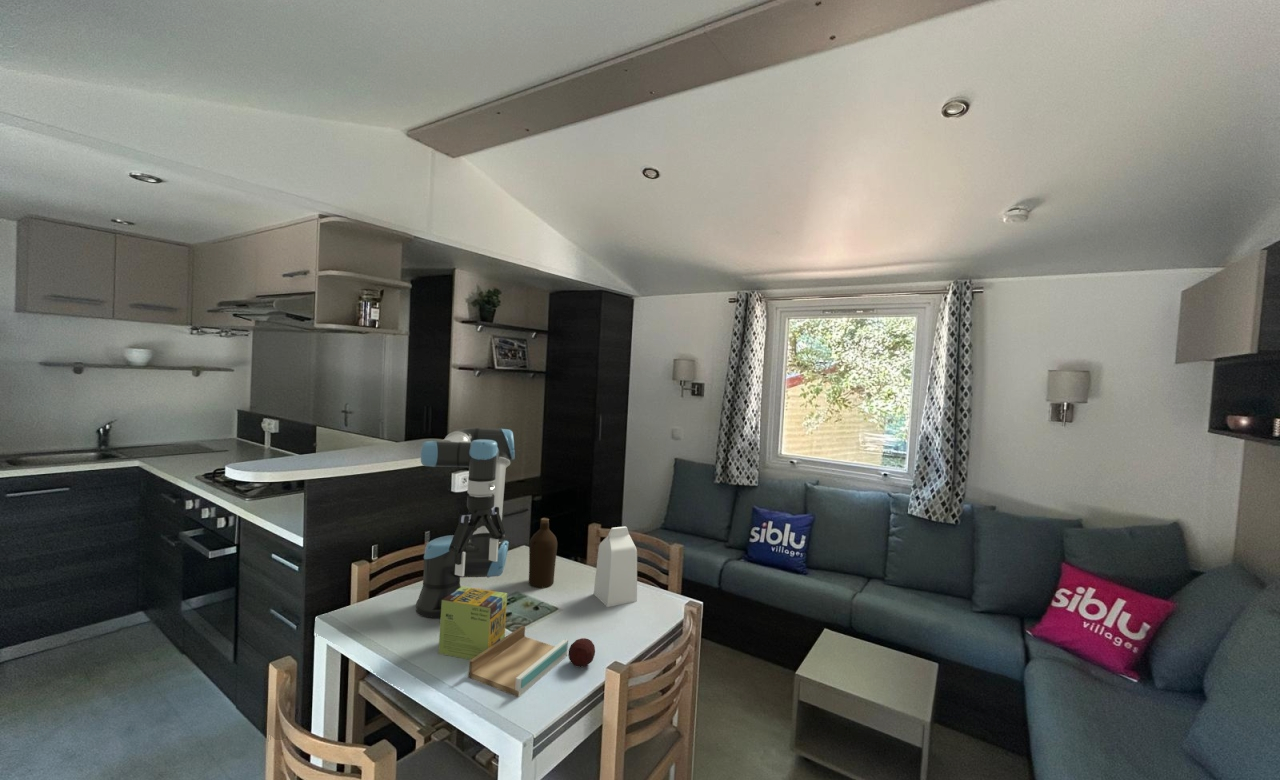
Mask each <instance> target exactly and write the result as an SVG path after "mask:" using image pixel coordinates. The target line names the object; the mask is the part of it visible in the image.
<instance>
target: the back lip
mask: <svg viewBox="0 0 1280 780" xmlns="http://www.w3.org/2000/svg"><path fill="white" fill-rule="evenodd" d="M525 630H526V626H524V625H521V626H520V627H518V628H516V630H514V631H512V632H510V633H508V635H507V636H505V638H503V639H502V640H500V641H499V642H497V643H496V644H494V645H493V646H491V647H490V648H488V649H487V650H485V651H484V652H482V653H481V654H479V655H478V656H476V657H475V658H473V659H472V660H469V664H468V665H469V666H468V667H469V668H468V675H469V674H470V673H471V675H472V673H473V672H474V671H476V670H477V669H479V668H480V667H482V666H483V665H484V664H486V663H487V662H489V661H490V660H492V659H493V658H494V657H496V656H497V655H499V654H500V653H502V652H503V651H505V650H506V649H507V648H509V647H510V646H512V645H513V644H515V643H516V642H517V641H519V640H520V639H522V638H523V637H526V636H525V634H526V631H525ZM469 672H470V673H469ZM471 678H472V677H471ZM471 678H470V677H469V678H468V679H471ZM471 680H472V679H471Z"/></svg>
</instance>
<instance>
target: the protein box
mask: <svg viewBox="0 0 1280 780" xmlns="http://www.w3.org/2000/svg"><path fill="white" fill-rule="evenodd" d="M507 598H508V592H501V591H493V590H489V589H483V588H474V587H470V586H468V587H467V586H461V587H460V588H459V589H457V590H456V591H455V592H453V593H452V594H450V595H449V596H447V597H446V598H444V599H443V600H442V604H441V618H440V622H439V623H440V624H439V625H440V626H439V635H438V636H439V640H438V652H437V653H438V655H439V654H440V655H444V656H450V657H455V658H459V659H466V660H468V661H470V660H472V659H473V658H475V657H476V656H478V655H479V654H481V653H482V652H484V651H485V650H487V649H488V648H490V647H491V646H493V645H494V644H496V643H497V642H499V641H500V640H502V639H503V638H505V637H506V636H505V635H506V618H507V603H508V599H507Z"/></svg>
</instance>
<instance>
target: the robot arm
mask: <svg viewBox="0 0 1280 780" xmlns="http://www.w3.org/2000/svg"><path fill="white" fill-rule="evenodd" d="M421 445H422V446H421V450H420V462H421V465H423V466H424V467H433V468H435V467H439V468H440V467H441V468H442V467H445V468H446V467H451V468H453V467H455V468H468V479H467V491H466V492H467V496H466V497H467V498H466V508H467V509H468V513H467V514H459V518H458V524H457V526H456V529H455V532H454V535H453V534H452V535H444V536H440V537H437V538H434V539H431V540H430V541H428V543H427V544H426V545H425V548H424V555H423V559H424V560H423V578H422V587H421V591H420V593H419V596H418V598H417V601H416V604H415V612H416V614H417V615H418V616H420V617H424V618H428V619H429V618H430V619H439V618H440V619H441V604H442V600H443V599H444V598H446V597H447V596H449V595H450V594H452V593H453V592H455V591H456V590H457V589H459V588H460V587H462V586H461V578H492V577H493V578H494V577H499V576H501V575H502V574H503V573H504V570H505V565H506V560H507V557H508V552H509V551H508V550H509V541H508V540H506V536H505V533H506V531H505V528H504V524H503V522H502V520H503V509H504V507H503V506H504V496H505V495H504V494H505V484H506V483H505V482H506V472H507V470H506V469H507V467H509V466H510V465H511V461H513V460H515V455H516V454H515V440H514V432H513V430H511V429H507V428H488V427H487V428H485V427H484V428H483V427H467V428H462V429H457V430H455V431H454V430H453V431H451V432H449V433H448V434H447V435H446V436H445V438H444V439H442V440H439V441H438V440H437V441H436V440H430V441H429V440H427V441H424V442H423V443H422V444H421Z"/></svg>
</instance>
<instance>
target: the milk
mask: <svg viewBox="0 0 1280 780" xmlns="http://www.w3.org/2000/svg"><path fill="white" fill-rule="evenodd" d="M593 595H594V596H595V597H596V599H598V600H599V601H600V602H601V603H603V605H605V606H606V607H607V608H609V607H614V606H620V605H625V604H629V603H630V604H631V603H635V602H636V603H637V602H638V550H637V546H636V545H635V542H634V541H633V539H632V537H631V535H630V532H629V529H628V527H627V526H617V527H616V526H615V527H611V529H610V530H609V532H608V534H607V536H606V537H605V538H604V539H603V540H602V541H601V542H600V543H599V545H598V550H597V562H596V569H595V579H594V589H593Z"/></svg>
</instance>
